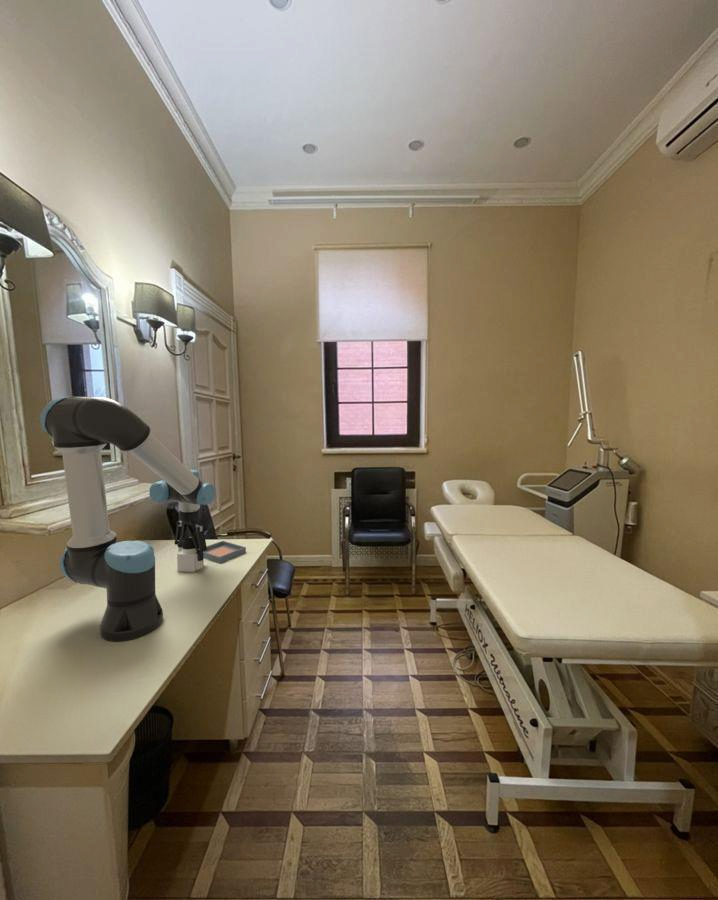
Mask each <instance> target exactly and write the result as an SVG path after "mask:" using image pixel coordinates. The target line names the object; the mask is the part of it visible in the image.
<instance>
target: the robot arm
mask: <svg viewBox="0 0 718 900" xmlns="http://www.w3.org/2000/svg"><path fill="white" fill-rule="evenodd" d="M39 419H40V420H39V421H40V422H39V423H40V425H41V428H42V429H43V431H44V432H45V433H46V434H48V435H49V436H50V437H52V439H53V440H52V441H53V448H54V449H55V450H56V451H58V452H60V453H61V454H62V462H63V463H62V464H63V468H64V469H63V470H64V477H65V478H64V479H65V485H66V486H65V487H66V494H67V500H68V501H67V503H68V508H69V509H68V510H69V516H70V517H69V518H70V525H71V531H72V532H71V533H72V535H71V537H70V539H69V540H68V541H67V542H66V548H65V549H64V550H63V551H64V553H63V554H61V557H60V560H59V568H60V571H61V573H62V575H63V576H64V577H65V578H67V580H70V581H73V582H74V583H78V584H80V585H87V586H92V587H99V588H103V589H106V608H105V610H104V613H103V616H102V620H101V623H100V637H101V638H102V639H104V640H106V641H110V642H123V641H124V642H125V641H129V640H134V639H138V638H140V637H143V636H145V635H147V634H150V633H151V632H153V631H154V630H156V629H157V628H158V627H159V626H161V624H162V622H163V620H164V611H163V607H162V605H161V603H160V602H159V601H160V600H159V598H158V596H157V595H156V557H155V550H154V547H153V546H152V545H151V544H150V543H148V542H146V541H142V540H124V541H123V540H122V541H119V542H118V538H117V533H116V531H113V530H111V529H110V523H109V515H108V514H109V513H108V504H107V495H106V485H105V478H104V467H103V459H102V450H103V449H104V448H105V446H107V443H108V444H110V445H113V446H115V447H116V448H118V449H119V450H120V451H121V452H126V453H127V452H129V453H130V454H131V455H132V456H134V457H135V458H136V459H137V460H138V461H140V462H141V463H142V464H143V465H145V466H146V467H147V468H148V469H149V470H151V471H152V472H153V473H155V474H156V475H157V476H158V477H159V478H160V479H161V480H158V481H156V482H153V483H152V484H151V485H150V487H149V491H148V492H149V498H150V499H151V500H152V501H153V502H155V503H157V504H160V503H161V504H162V503H167V502H176V503H178V510H179V511H178V521H176V522H175V523H176V529H175V536H174V545H175V546H177V548H178V549H177V550H178V553H179V552H181V551H182V540H183V539H185V538H188V536H189V537H192V540H193V543H194V546H195V549H196V553H195V569H196V570H197V569H198V570H199V569H202V568H203V566H204V564H203V562H204V558H203V552H204V551H207V546H208V545H207V541H206V536H205V526H204V525H199V520H200V519H201V505H204V506H205V505H210V504H211V503H213V502H214V500H215V498H216V495H217V489H216V487H215V485H214V484H212V483H210V482H206V481H205V482H203V481H202V480H201V477H200V472H199V470H197V469H189V468H188V467H187V466H186V465H185V464H183V462H182V461H181V460H179V459H178V458H177V457H176V455H174V453H172V452H171V451H170V450H169V449H168V448H167V447H166V446H164V444H162V443H161V441H160V440H159V439H157V438H156V437H155V436H154V435H153V434H152V433H151V432H152V429H151V426H149V425H148V424H147V423H146V421H144V420H143V419H142V418H141V417H139V415H137V414H136V413H135V412H134V411H132V410H131V409H129V408H128V407H127V406H125V405H123V404H122V403H120V402H118V401H116V400H114V399H111V398H108V397H105V396H65V397H59V398H55V399H53V400H51V401H49V403H47V404H46V405H44V407H43V409H42V411H41V413H40V418H39ZM198 570H197V571H198Z"/></svg>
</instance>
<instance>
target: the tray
mask: <svg viewBox="0 0 718 900" xmlns="http://www.w3.org/2000/svg"><path fill="white" fill-rule="evenodd" d="M206 546H207V551H204V552H203V560H208V561H211V562H213V563H217V564H222V563H224V562H227V561H228V560H232V559H233V558H236V557H238V555H239V556H241V555H244V554H246V553H247V550H246V549H247V548H246V546H243V545H239V544H236V543H232V542H228V541H226V540H225V541H224V540H221V541H218V542H216V543H213V544H210V545H206ZM243 553H244V554H243Z"/></svg>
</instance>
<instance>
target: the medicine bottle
mask: <svg viewBox="0 0 718 900" xmlns="http://www.w3.org/2000/svg"><path fill="white" fill-rule="evenodd" d="M195 553H196V549H195V546H194V543H193V540H192V537H190V536H189V537H187V538H185V539H183V540H182V551H181V552H179V551H178V553H176V559H177V560H176V561H177V566H176V567H177V572H181V573H182V572H187V573H196V572H197V571H198V570H199V569H197V570H196V569H195ZM203 565H204V561H203Z"/></svg>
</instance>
